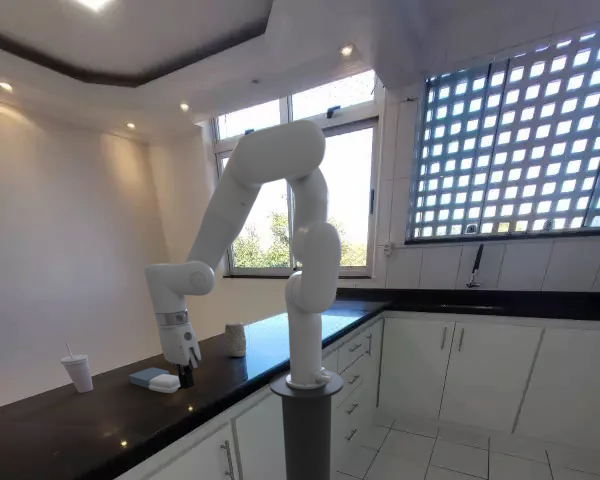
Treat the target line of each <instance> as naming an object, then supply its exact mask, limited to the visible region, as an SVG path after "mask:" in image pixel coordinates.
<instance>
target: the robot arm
mask: <svg viewBox="0 0 600 480" xmlns="http://www.w3.org/2000/svg"><path fill="white" fill-rule="evenodd" d="M326 152H327V141H326V136H325V134H324V131H323V130H322V128H321V126H319V125H318V124H317V122H314V121H312V120H309V119H298V120H294V121H291V122H287V123H283V124H280V125H279V124H278V125H276V126H272V127H268V128H264V129H260V130H256V131H253V132H249V133H247V134H244V135H243V136H241V137H240V138H239V139H238V140H237V142H236V143H235V145H234V147H233V149H232V151H231V153H230V155H229V156H228V158H227V162H226V163H225V166H224V168H223V170H222V172H221V175H220V177H219V179H218V182H217V183H216V186H215V188H214V191H213V193H212V195H211V197H210V200H209V201H208V204H207V206H206V209H205V211H204V214H203V216H202V220H201V223H200V226H199V229H198V231H197V234H196V236H195V239H194V241H193V243H192V246H191V247H190V250H189V253H188V254H187V257H186V258H185V261H184V263H178V264H176V263H172V262H169V263H167V262H166V263H150V264H148V265H146V266H145V267H144V276H145V277H144V278H145V281H146V284H147V289H148V293H149V297H150V300H151V305H152V309H153V313H154V316H155V321H156V326H157V328H158V335H159V342H160V346H161V351H162V354H163V357H164V359H165V361H167V362H168V364H170V365H171V366H172V367H174V370H175V373H176V374H177V376H178V378H179V382H180V386H181V387H180V388H181V389H183V390H187V389H189V388H192V387H194V386H195V382H194V377H193V371H194V370H196V369H199V366H198V364H197V362H200V361H202V355H201V349H200V345H199V342H198V339H197V335H196V332H195V330H194V328H193V325H192V323H190V317H189V313H188V312H189V311H188V306H187V301H186V296H194V297H195V296H196V297H197V296H199V297H202V296H206V295H208V294H209V293H211V292H212V291H213V290H214V288H215V286H216V275H215V274H216V272H217V270H218V268H219V265H220V264H221V261H222V259H223V258H224V256H225V254H226V252H227V250H228V249H229V247H230V246H232V244H233V243H235V241H236V239H238V237H239V236H240V234H241V232H242V230H243V228H244V226H245V224H246V221H247V219H248V218H249V215H250V213H251V211H252V208H253V207H254V204H255V202H256V201H257V199H258V196H259V194H260V192H261V190H262V188H263V186H264V185H265V184H267V183H271V182H276V181H280V180H285V181H286V182H287V184H288V185H289V187H290V189H291V192H292V195H293V208H294V209H293V211H294V212H293V221H292V222H293V223H292V226H293V227H292V235H291V253H292V256H293V258H294V259H295V261H296V262H298V263H299V264H301V270H299V271H296V272H294V273H292V274H291V275H290V276H289V278H288V279H287V281H286V282H285V287H284V299H285V305H286V306H285V307H286V312H287V323H288V325H287V327H288V345H289V346H288V350H289V370H290V375H288V376H287V377H286V384H287V385H288V386H290V387H292V388H296V389H315V388H319V387H321V386H323V385H325V384H326V383H331V382H332V374H326V373H325V370H326V368H325V367H324V366H322V365H323V363H322V362H323V359H322V356H323V355H322V354H323V352H322V351H323V348H322V347H323V335H322V334H323V320H322V319H323V317H322V313H324V312H326V311H327V310H329V309H330V308H331V307H332V305H333V303H334V301H335V298H336V295H337V291H338V283H339V275H340V267H341V260H342V253H343V252H342V251H343V247H342V246H343V245H342V239H341V236H340V233H339V231H338V229H337V228H336V227H335V226H334V225H333V224H331V223H330V222H329V209H330V192H329V187H328V183H327V181H326V178H325V176H324V174H323V172H322V170H321V169H320V165H321V164H322V162H323V161H324V159H325V156H326Z"/></svg>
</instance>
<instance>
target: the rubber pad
mask: <svg viewBox="0 0 600 480" xmlns="http://www.w3.org/2000/svg"><path fill="white" fill-rule="evenodd" d="M162 374H168V375H171V374H170V371H169V370H165V369H162V368H157V367H154V366H151V367H149V368H146V369H142V370H141V371H137V372H134V373H132V374H129V375H128V378H129V381H130V384H133V385H136V386H139V387H142V388H146V389H149V385H150V384H149V381H150V380H151V379H153V378H155V377H157V376H159V375H162Z"/></svg>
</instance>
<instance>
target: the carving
mask: <svg viewBox="0 0 600 480" xmlns="http://www.w3.org/2000/svg"><path fill="white" fill-rule="evenodd" d="M224 335H225V344H226V352H227V354H228V356H230V357H235V358H236V357H237V358H241V357H242V358H243V357H245V356H246V355H247V339H246V338H247V337H246V333H245V325H244V323H243V322H241V321H231V322H226V323H225V326H224Z"/></svg>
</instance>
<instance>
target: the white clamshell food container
mask: <svg viewBox="0 0 600 480" xmlns="http://www.w3.org/2000/svg"><path fill="white" fill-rule="evenodd" d="M149 384H150V385H149V388H148V390H151V391H155V392H158V393H159V392H160V393H164V394H165V393H166V394H173V393H175V392H177V391H179V388H181V386H180V382H179V378H178V375H173V374H170V375H168V374H162V375H159V376H157V377H155V378H153V379H151V380H150V381H149Z"/></svg>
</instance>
